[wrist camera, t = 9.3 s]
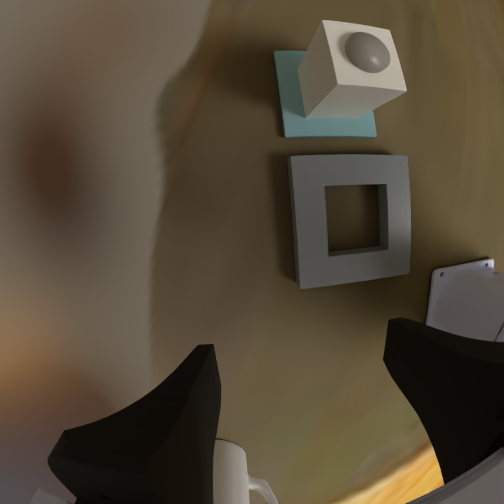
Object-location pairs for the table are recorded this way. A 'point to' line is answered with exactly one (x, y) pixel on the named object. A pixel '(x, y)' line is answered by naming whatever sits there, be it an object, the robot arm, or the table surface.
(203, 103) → the table surface
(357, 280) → the grey square frame
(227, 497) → the mug
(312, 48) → the plug
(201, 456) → the robot arm
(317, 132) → the mat
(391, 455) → the table surface
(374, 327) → the table surface
